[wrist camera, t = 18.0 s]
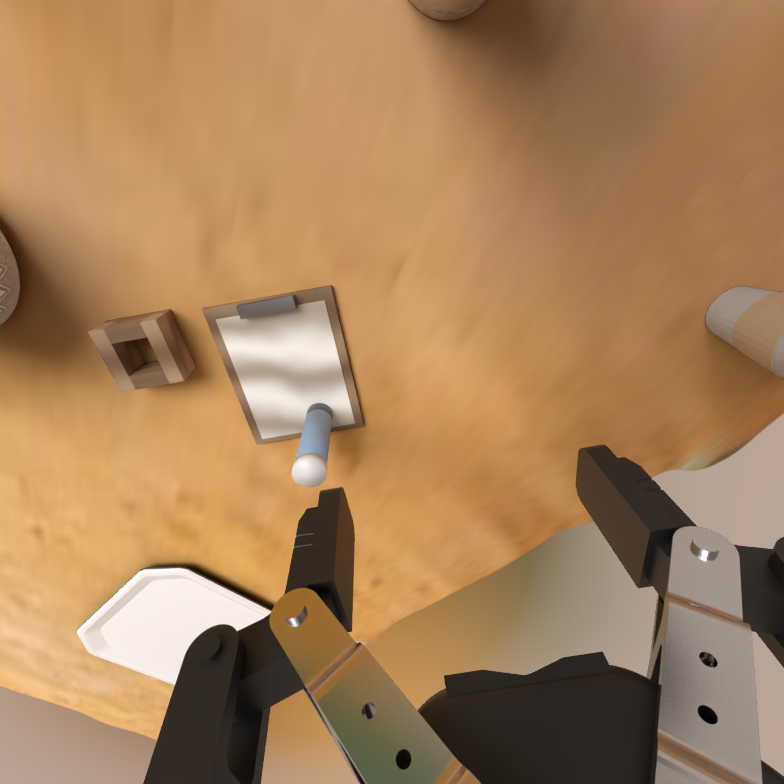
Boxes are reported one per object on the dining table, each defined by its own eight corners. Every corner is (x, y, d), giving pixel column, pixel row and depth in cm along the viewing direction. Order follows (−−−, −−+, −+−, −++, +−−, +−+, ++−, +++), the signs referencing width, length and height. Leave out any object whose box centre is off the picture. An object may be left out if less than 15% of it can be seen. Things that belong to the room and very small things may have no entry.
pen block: (107, 320, 43) (87, 331, 40) (170, 309, 43) (155, 319, 40) (137, 377, 47) (121, 392, 44) (196, 367, 46) (184, 381, 43)
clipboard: (203, 308, 43) (198, 312, 42) (331, 285, 43) (330, 289, 41) (257, 442, 52) (254, 449, 50) (363, 423, 51) (363, 430, 50)
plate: (312, 619, 71) (310, 632, 69) (216, 687, 79) (212, 700, 78) (163, 543, 60) (156, 556, 58) (70, 631, 69) (61, 644, 67)
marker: (302, 404, 49) (287, 463, 39) (330, 400, 49) (321, 458, 39) (310, 427, 51) (297, 489, 41) (336, 422, 50) (329, 483, 41)
